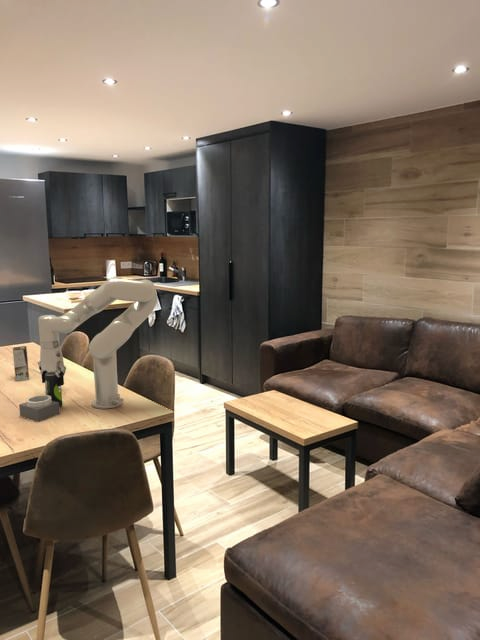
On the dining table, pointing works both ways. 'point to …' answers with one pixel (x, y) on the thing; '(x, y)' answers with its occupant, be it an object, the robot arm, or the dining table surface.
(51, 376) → the beverage can
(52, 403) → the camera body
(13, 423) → the dining table surface
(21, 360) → the coffee box
